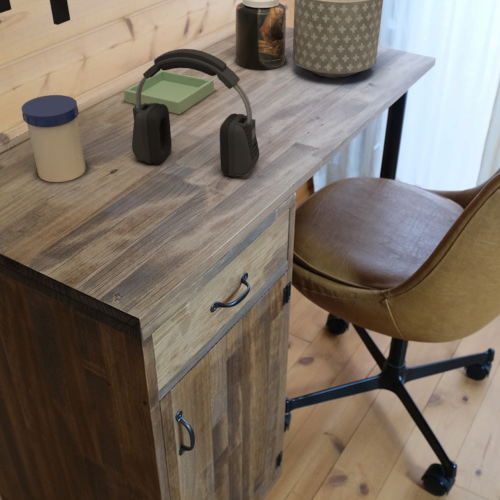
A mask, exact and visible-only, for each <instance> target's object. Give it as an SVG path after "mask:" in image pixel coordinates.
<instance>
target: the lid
mask: <svg viewBox="0 0 500 500" xmlns="http://www.w3.org/2000/svg"><path fill="white" fill-rule="evenodd" d="M21 114H22V120H23V121H24V123H26V125H27V124H29V125H32V126H37V127H52V126H59V125H62V124H66V123H68V122H70V121H72V120H74V119H75V118H76V117H77V118H78V116H79V114H80V113H79V107H78V102H77V100H76V99H75V98H73V97H71V96H69V95H63V94H49V95H43V96H38V97H34V98H32V99H30V100H27V101H26V102H24V103H23V104H22V105H21Z"/></svg>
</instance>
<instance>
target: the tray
mask: <svg viewBox="0 0 500 500" xmlns="http://www.w3.org/2000/svg"><path fill="white" fill-rule="evenodd" d="M214 81H215V80H213V79H209V78H203V77H199V76H194V75H189V74H184V73H179V72H176V71H175V72H174V71H170V70H165V71H164V70H162V69H161V70H160V71H159V72H158V73H156V74H155V75H154V76H153V77H151V78H148V79H146V81H145V82H144V85H143V87H142V92H141V104H142V105H143V104H144V103H147V104H150V103H159V104H164V105H166V106H167V108H168V111H169V113H172V114H176V115H180V114H183V113H184V112H185V111H187V110H189V109H190V108H191V107H193V106H194V105H196V104H197V103H199V102H201V101H202V100H203V99H204V98H206V97H208V96H209V95H212V93H214V92H215V83H214ZM139 83H140V81H138V82H137V83H135V84H133V85H131V86H129V87H127V88H126V89H124V90H123V93H124V103H130V104H134V105H136V91H137V87H138V85H139ZM138 103H139V102H138Z"/></svg>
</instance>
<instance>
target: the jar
mask: <svg viewBox="0 0 500 500" xmlns="http://www.w3.org/2000/svg"><path fill="white" fill-rule="evenodd" d="M286 31H287V11H286V7H285V5H284V4H282V3H281V2H280V0H242V1H241V2H240V3H238V4H237V5H236V6H235V62H236V64H237V65H239V66H240V67H243V68H246V69H250V70H259V71H260V70H261V71H263V70H264V71H265V70H274V69H277V68H280V67H282V66H283V65H284V64H285V61H286V38H287V37H286Z"/></svg>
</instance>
